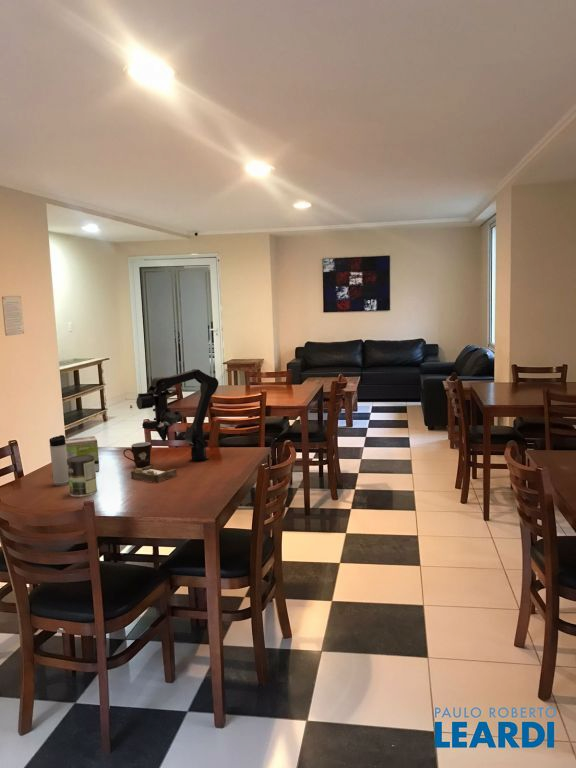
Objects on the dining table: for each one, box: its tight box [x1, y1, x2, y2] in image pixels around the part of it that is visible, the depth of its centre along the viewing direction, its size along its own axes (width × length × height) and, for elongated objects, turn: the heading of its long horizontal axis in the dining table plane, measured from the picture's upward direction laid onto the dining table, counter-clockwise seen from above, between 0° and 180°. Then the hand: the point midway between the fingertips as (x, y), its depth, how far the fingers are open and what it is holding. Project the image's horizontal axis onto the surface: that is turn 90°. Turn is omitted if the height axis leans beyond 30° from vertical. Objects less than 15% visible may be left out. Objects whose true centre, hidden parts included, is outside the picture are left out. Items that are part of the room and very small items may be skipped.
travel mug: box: [49, 434, 69, 487], centre depth 256 cm, size 6×7×20 cm
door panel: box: [142, 468, 165, 475], centre depth 259 cm, size 7×11×4 cm, turn 52°
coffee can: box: [67, 455, 98, 498], centre depth 242 cm, size 10×10×14 cm
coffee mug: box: [122, 441, 152, 469], centre depth 279 cm, size 12×9×10 cm
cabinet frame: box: [130, 464, 178, 483], centre depth 259 cm, size 11×15×4 cm
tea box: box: [65, 435, 100, 473], centre depth 274 cm, size 15×10×15 cm
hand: (164, 440), depth 273 cm, fingers closed
